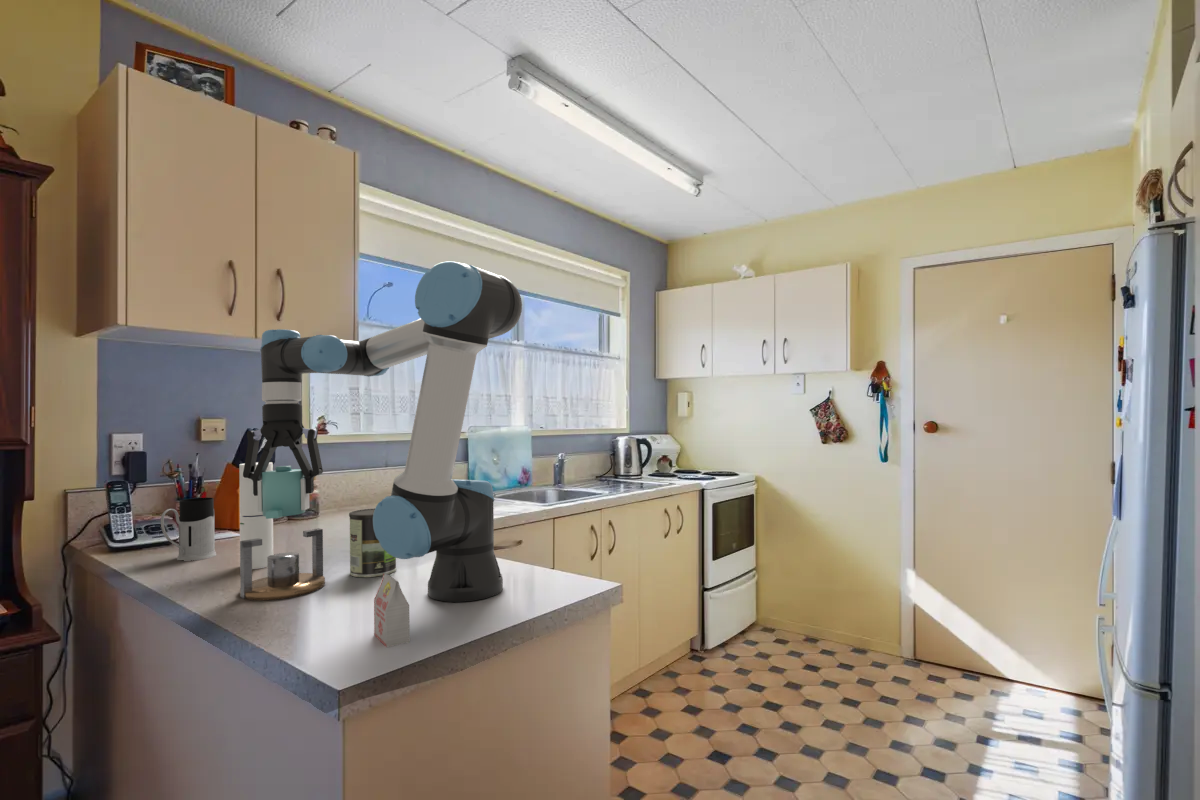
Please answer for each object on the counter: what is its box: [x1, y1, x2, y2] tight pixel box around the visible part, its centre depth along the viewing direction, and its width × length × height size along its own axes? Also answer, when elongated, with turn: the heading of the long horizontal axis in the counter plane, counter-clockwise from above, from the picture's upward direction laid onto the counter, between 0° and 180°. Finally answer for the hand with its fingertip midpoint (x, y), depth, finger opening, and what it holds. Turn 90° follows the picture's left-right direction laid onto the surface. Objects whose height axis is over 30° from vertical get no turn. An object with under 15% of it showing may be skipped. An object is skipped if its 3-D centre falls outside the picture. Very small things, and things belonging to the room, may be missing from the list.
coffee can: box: [348, 507, 397, 578], centre depth 143 cm, size 10×10×14 cm
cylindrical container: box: [238, 461, 274, 570], centre depth 151 cm, size 7×7×25 cm
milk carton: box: [373, 574, 411, 648], centre depth 101 cm, size 4×7×10 cm, turn 36°
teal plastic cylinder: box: [262, 465, 306, 519], centre depth 130 cm, size 8×12×10 cm, turn 6°
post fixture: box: [239, 527, 326, 602], centre depth 130 cm, size 16×16×11 cm
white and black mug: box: [160, 497, 217, 562], centre depth 158 cm, size 9×14×15 cm, turn 166°
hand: (284, 509), depth 130 cm, fingers closed on teal plastic cylinder, 8 cm apart
